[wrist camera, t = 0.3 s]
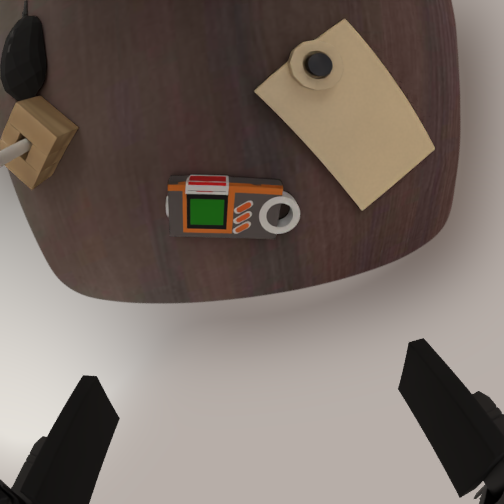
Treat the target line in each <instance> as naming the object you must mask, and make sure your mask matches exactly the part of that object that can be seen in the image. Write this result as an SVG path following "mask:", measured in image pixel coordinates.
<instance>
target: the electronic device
mask: <svg viewBox="0 0 504 504" xmlns="http://www.w3.org/2000/svg"><path fill="white" fill-rule="evenodd" d="M281 203H284V204H287V205H289V206H290V210H289V213H288V214H287V216H286V217H284V218H283V219H280V220H279V213H280V206H281ZM166 214H167V216H168V217H169V230H170V236H175V237H217V238H252V239H276V234H282V233H286V232H288V231H290V230H291V229H293V228H294V227H295V226H296V224H297V223H298V221H299V218H300V209H299V207H298V205H297V203H296V201H295V199H294V198H293V197H292V196H291V195H290V194H289V193H287V192H285V191H283V185H282V183H281V181H280V180H275V179H260V178H242V177H228V176H225V175H190V176H170V178H169V181H168V196H167V197H166Z"/></svg>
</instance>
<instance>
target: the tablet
mask: <svg viewBox="0 0 504 504" xmlns="http://www.w3.org/2000/svg"><path fill="white" fill-rule="evenodd" d="M316 53H323V54H325V55H327V56H328V57H329V58H330V59H331V61H332V64H333V67H332V70H331V72H330V73H329V74H328V75H326V76H314V75H311V74H310V73H309V72H308V71H307V70H306V67H305V61H306V59H307V57H309V56H310V55H312V54H316ZM254 92H255V93H256V94H257V95H258V96H259V97H260V98H261V99H262V100H263V101H264V102H265V103H266V104H267V105H268V106H269V107H270V108H271V109H272V110H273V111H274V112H275V113H276V114H277V115H278V116H279V117H280V118H281V119H282V120H283V121H284V122H285V123H286V124H287V125H288V126H289V127H290V128H291V129H292V130H293V131H294V132H295V133H296V134H297V135H298V136H299V138H300V139H301V140H302V141H303V142H304V143H305V144H306V145H307V146H308V147H309V148H310V150H311V151H312V152H313V153H314V154H315V155H316V156H317V157H318V159H319V160H320V161H321V162H322V163H323V164H324V165H325V167H326V168H327V169H328V170H329V171H330V172H331V174H332V175H333V176H334V177H335V178H336V179H337V181H338V182H339V183H340V184H341V185H342V187H343V188H344V189H345V190H346V192H347V193H348V194H349V195H350V197H351V198H352V199H353V200H354V202H355V203H356V204H357V205H358V207H359V208H360V209H361V210H362V211H363V210H364V209H365V208H366V207H368V206H369V205H370V204H371V203H372V202H374V201H375V200H376V199H377V198H378V197H380V196H381V195H382V194H383V193H384V192H386V191H387V190H388V189H389V188H390V187H392V186H393V185H394V184H395V183H396V182H397V181H399V180H400V179H401V178H402V177H403V176H405V175H406V174H407V173H408V172H409V171H410V170H411V169H413V168H414V167H415V166H416V165H417V164H418V163H420V162H421V161H422V160H423V159H424V158H425V157H426V156H428V155H429V154H430V153H431V152H432V151H433V150H434V149H435V147H434V145H433V143H432V141H431V140H430V138H429V136H428V134H427V132H426V130H425V129H424V127H423V125H422V123H421V122H420V120H419V118H418V116H417V115H416V113H415V111H414V110H413V108H412V106H411V105H410V103H409V102H408V100H407V99H406V97H405V95H404V94H403V92H402V91H401V89H400V88H399V86H398V85H397V83H396V82H395V80H394V79H393V78H392V76H391V75H390V73H389V72H388V71H387V69H386V68H385V67H384V65H383V64H382V62H381V61H380V60H379V59H378V57H377V56H376V55H375V53H374V52H373V51H372V50H371V48H370V47H369V46H368V45H367V43H366V42H365V41H364V40H363V39H362V37H361V36H360V35H359V34H358V33H357V31H356V30H355V29H354V28H353V27H352V26H351V25H350V24H349V22H348V21H347V20H346V19H343V20H341V21H340V22H338V23H337V24H336V25H334V26H333V27H331V28H330V29H329V30H327V31H326V32H324V33H323V34H322V35H320V36H319V37H318V38H316V39H315V40H312V41H305V42H303V43H301V44H299V45H298V46H297V47H296V48H294V49H293V50H292V51H291V54H290V57H289V60H288V61H287V62H286V63H285V64H284V65H282V66H281V67H280V68H279V69H278V70H276V71H275V72H274V73H273V74H272V75H271V76H269V77H268V78H267V79H266V80H265V81H264V82H263V83H261V84H260V85H259V86H258V87H257V88H256V89H255V90H254Z"/></svg>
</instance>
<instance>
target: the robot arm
mask: <svg viewBox="0 0 504 504" xmlns="http://www.w3.org/2000/svg"><path fill="white" fill-rule="evenodd" d="M398 390H399V391H400V393H401V394H402V396H403V398H404V399H405V401H406V403H407V404H408V406H409V408H410V409H411V411H412V413H413V414H414V416H415V418H416V419H417V421H418V423H419V424H420V426H421V428H422V430H423V431H424V433H425V435H426V437H427V438H428V440H429V442H430V443H431V445H432V447H433V449H434V451H435V452H436V454H437V456H438V458H439V459H440V461H441V463H442V465H443V467H444V469H445V471H446V472H447V474H448V476H449V478H450V480H451V482H452V484H453V486H454V488H455V489H456V491H457V493H458V495H459V497H462V496H464V495H465V494H467V493H469V492H470V491H472V490H474V489H475V488H476V487H477V486H478V485H479V484H480V483H481V482H482V481H484V483H485V485H484V487H482V488H481V489H480V490H479V491H478V492H477V493H476V495H475V497H474V499H476V498H477V497H479V496H480V495H481V494H482V495H481V497H480V502H479V504H504V414H502V412H501V411H500V409H499V408H497V407H496V405H495V403H494V402H493V401H492V400H491V399H490V397H488V396H486V395H485V394H483V393H481V392H480V391H478V392H476V393H474V394H471V393H470V391H469V390H468V389H467V388H466V387H465V385H464V384H463V383H462V382H461V381H460V379H459V378H458V377H457V376H456V375H455V374H454V373H453V371H452V370H451V369H450V368H449V367H448V365H447V364H446V363H445V362H444V361H443V360H442V359H441V357H440V356H439V355H438V354H437V353H436V352H435V351H434V349H433V348H432V347H431V346H430V345H429V344H428V343H427V342H426V341H425V339H424V338H423V339H419V340H416V341H412V342H409V344H408V349H407V354H406V358H405V363H404V368H403V372H402V376H401V380H400V384H399V388H398ZM118 421H119V417H118V415H117V413H116V412H115V410H114V408H113V406H112V404H111V403H110V401H109V399H108V397H107V395H106V393H105V391H104V389H103V388H102V386H101V384H100V382H99V380H98V378H97V376H83V377H82V378H81V380H80V381H79V383H78V384H77V386H76V388H75V389H74V391H73V393H72V394H71V396H70V398H69V399H68V401H67V403H66V405H65V406H64V408H63V410H62V411H61V413H60V415H59V417H58V418H57V420H56V422H55V424H54V425H53V427H52V429H51V431H50V433H49V434H48V436H47V437H44V436H43V437H42V438H40V439H39V440H38V441H37V442H36V443H35V444H34V446H33V448H32V450H31V452H30V455H28V457H27V459H26V462H25V463H24V465H23V467H22V469H21V471H20V473H19V475H18V477H17V479H16V481H15V483H14V485H13V487H12V488H11V489H10V488H9V487H8V486H7V485H6V484H5V483H4V482H3V481H1V480H0V504H89V502H90V499H91V496H92V493H93V490H94V487H95V484H96V481H97V478H98V475H99V472H100V470H101V467H102V464H103V461H104V458H105V456H106V453H107V450H108V447H109V445H110V442H111V439H112V437H113V434H114V431H115V429H116V426H117V424H118Z"/></svg>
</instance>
